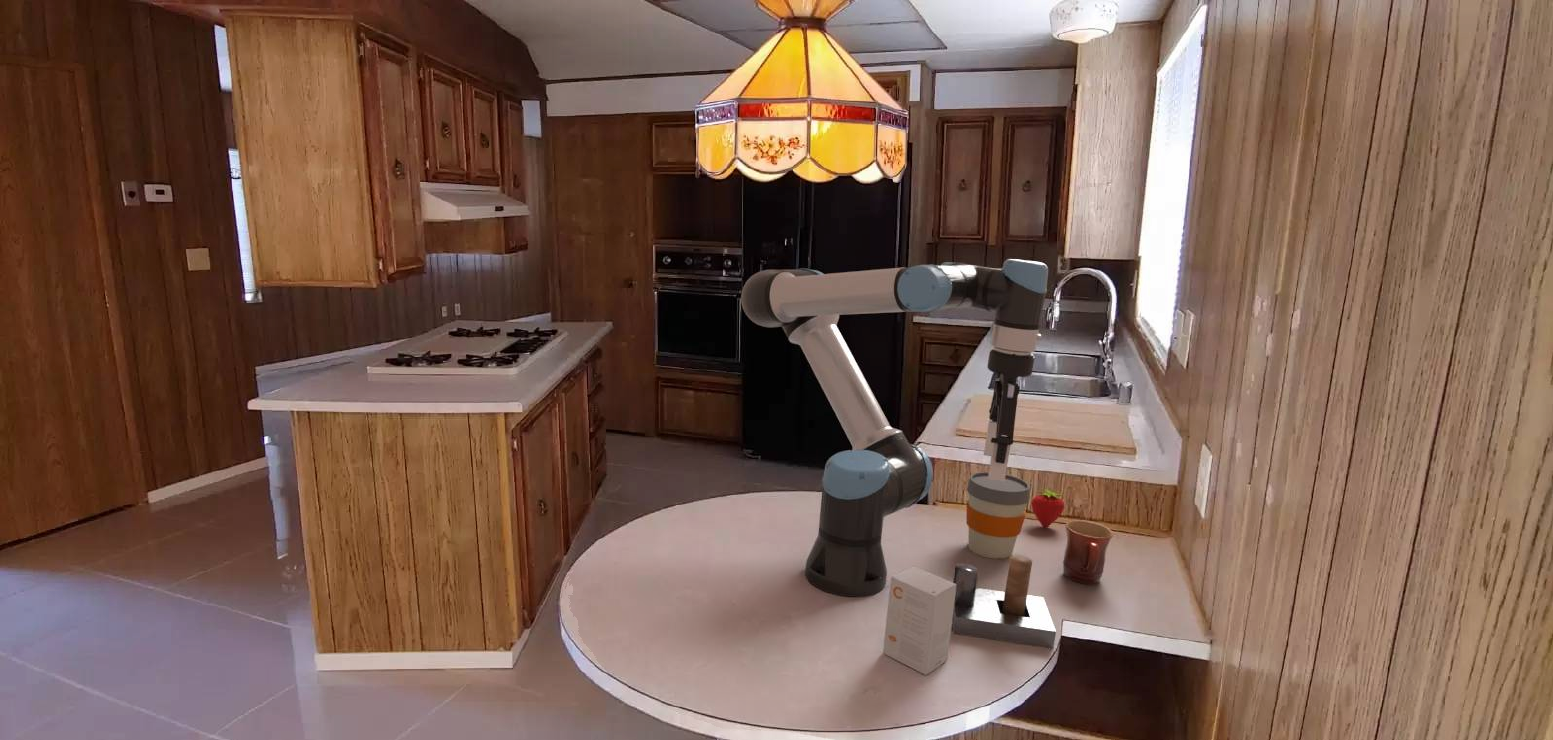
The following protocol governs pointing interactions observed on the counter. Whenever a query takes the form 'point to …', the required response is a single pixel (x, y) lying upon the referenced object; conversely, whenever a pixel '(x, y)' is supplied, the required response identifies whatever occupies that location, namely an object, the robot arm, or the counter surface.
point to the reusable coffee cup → (995, 513)
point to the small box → (919, 619)
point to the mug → (1085, 551)
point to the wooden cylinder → (1017, 585)
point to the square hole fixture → (997, 613)
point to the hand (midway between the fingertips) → (993, 467)
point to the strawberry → (1047, 507)
